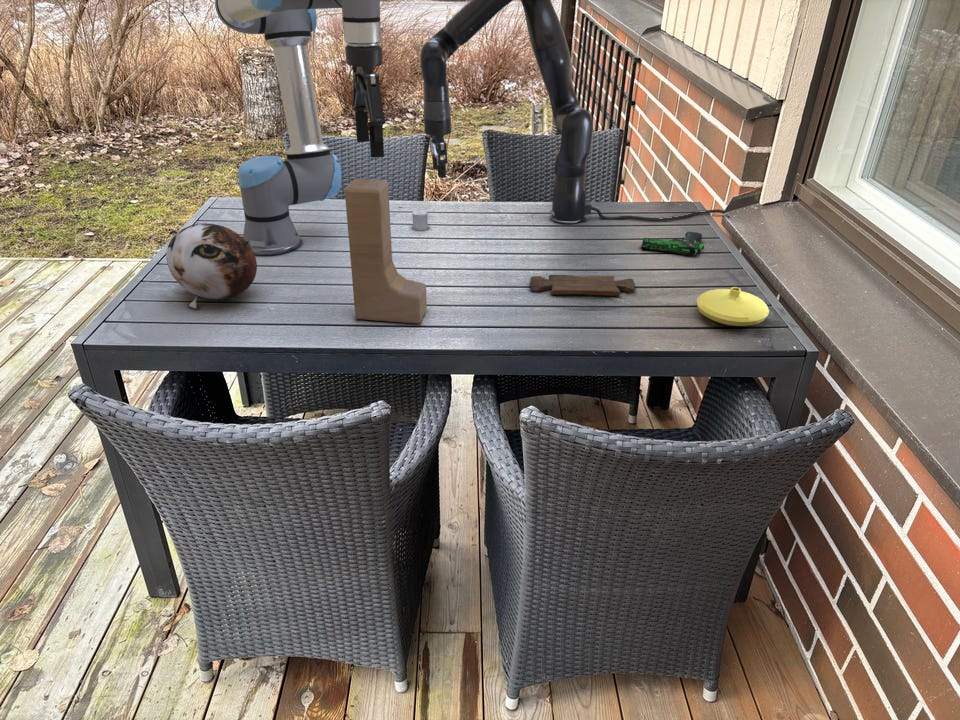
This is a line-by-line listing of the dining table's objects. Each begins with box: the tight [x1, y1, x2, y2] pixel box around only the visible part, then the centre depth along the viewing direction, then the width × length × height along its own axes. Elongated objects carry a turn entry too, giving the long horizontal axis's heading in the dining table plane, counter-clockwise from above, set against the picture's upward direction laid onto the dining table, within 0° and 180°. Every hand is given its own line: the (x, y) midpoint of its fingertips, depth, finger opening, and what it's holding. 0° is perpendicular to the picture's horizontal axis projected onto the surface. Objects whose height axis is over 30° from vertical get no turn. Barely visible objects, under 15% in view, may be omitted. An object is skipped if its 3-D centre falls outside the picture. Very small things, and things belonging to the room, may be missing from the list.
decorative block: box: [344, 177, 428, 324], centre depth 154 cm, size 8×15×30 cm, turn 82°
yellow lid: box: [696, 286, 770, 327], centre depth 161 cm, size 16×16×7 cm
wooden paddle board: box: [529, 274, 635, 297], centre depth 175 cm, size 26×2×10 cm
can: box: [411, 209, 429, 232], centre depth 209 cm, size 4×4×5 cm
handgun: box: [640, 231, 705, 257], centre depth 200 cm, size 16×3×15 cm
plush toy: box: [165, 222, 258, 309], centre depth 165 cm, size 22×18×20 cm
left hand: (370, 149), depth 157 cm, fingers open, 13 cm apart
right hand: (439, 173), depth 210 cm, fingers open, 8 cm apart
